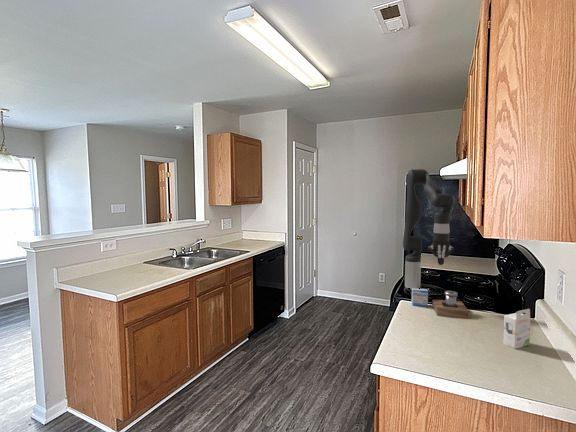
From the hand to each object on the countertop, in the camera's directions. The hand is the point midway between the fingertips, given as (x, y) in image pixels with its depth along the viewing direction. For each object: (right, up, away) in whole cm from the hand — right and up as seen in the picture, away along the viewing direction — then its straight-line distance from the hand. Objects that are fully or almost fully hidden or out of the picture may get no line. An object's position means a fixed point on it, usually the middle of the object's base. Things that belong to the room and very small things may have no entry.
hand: (440, 264), depth 168 cm
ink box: (+10, -26, -42) cm, 50 cm away
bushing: (+2, -23, -6) cm, 24 cm away
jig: (+2, -23, -6) cm, 24 cm away
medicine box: (-9, -23, +5) cm, 25 cm away
